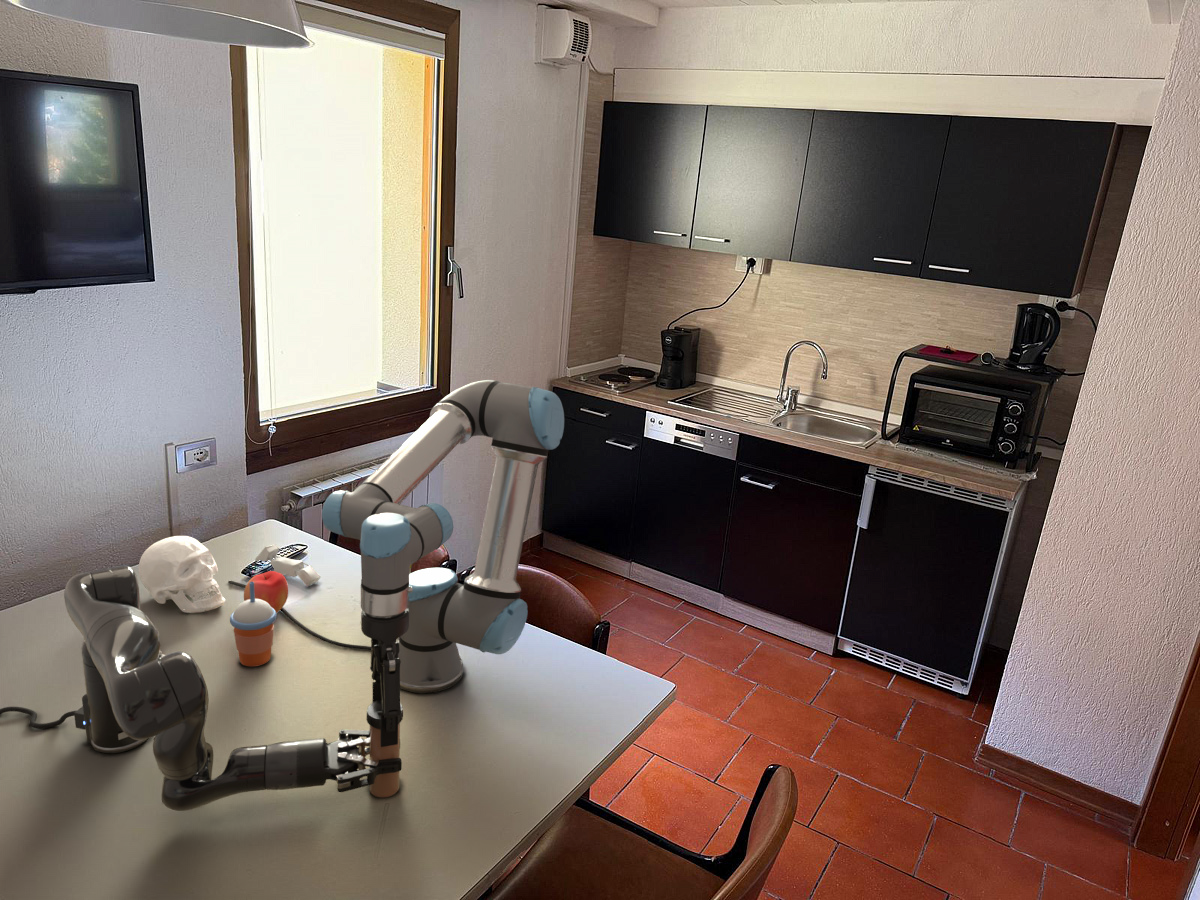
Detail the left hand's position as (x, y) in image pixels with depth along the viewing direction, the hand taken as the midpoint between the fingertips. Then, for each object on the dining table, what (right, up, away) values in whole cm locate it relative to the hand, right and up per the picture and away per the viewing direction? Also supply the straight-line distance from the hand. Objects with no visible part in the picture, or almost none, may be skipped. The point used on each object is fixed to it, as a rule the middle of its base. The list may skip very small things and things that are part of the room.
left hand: (400, 753), depth 147 cm
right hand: (-2, +5, -2) cm, 6 cm away
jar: (-3, -6, +1) cm, 7 cm away
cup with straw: (-39, +7, +36) cm, 54 cm away
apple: (-44, +13, +54) cm, 71 cm away
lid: (-2, +8, -3) cm, 9 cm away
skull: (-65, +16, +57) cm, 88 cm away
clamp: (-46, +20, +74) cm, 89 cm away
